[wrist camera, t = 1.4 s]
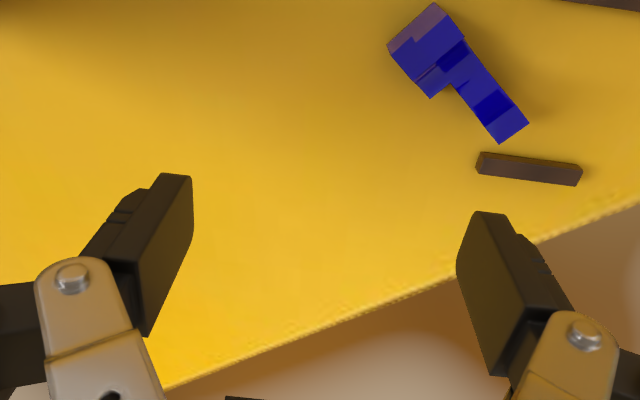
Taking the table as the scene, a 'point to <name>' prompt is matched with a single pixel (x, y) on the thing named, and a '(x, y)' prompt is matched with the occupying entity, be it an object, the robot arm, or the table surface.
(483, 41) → the table surface
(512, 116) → the cable holder
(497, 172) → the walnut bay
